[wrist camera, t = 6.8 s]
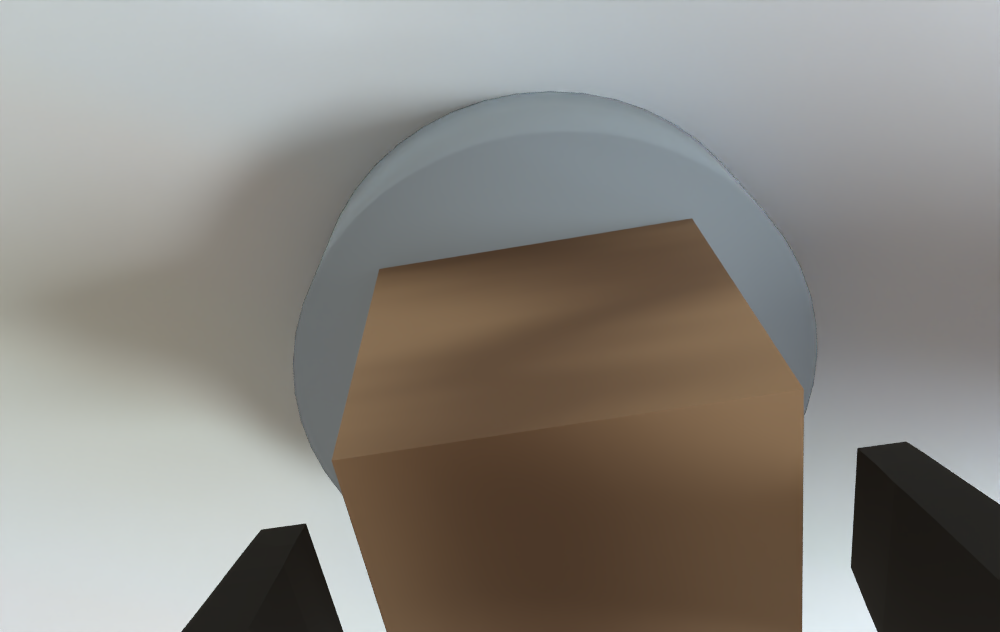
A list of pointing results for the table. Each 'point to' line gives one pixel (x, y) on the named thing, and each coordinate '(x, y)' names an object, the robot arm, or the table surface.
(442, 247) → the platform
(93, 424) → the table surface
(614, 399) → the cube
